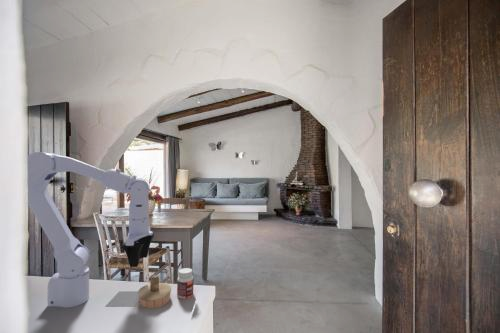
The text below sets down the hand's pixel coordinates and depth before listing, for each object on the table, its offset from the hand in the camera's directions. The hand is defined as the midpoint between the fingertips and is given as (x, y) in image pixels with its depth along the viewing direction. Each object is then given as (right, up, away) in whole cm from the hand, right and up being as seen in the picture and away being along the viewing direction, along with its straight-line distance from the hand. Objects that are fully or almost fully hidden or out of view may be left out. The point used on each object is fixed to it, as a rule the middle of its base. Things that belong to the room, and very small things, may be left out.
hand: (139, 261), depth 83 cm
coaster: (-1, -10, -5) cm, 11 cm away
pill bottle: (+15, -10, -2) cm, 18 cm away
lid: (+7, -7, -6) cm, 11 cm away
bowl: (+7, -10, -6) cm, 14 cm away
